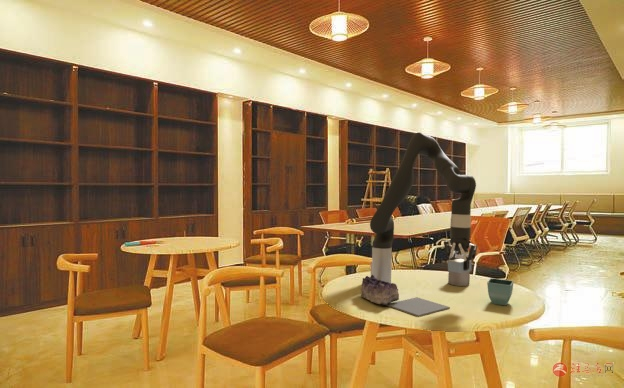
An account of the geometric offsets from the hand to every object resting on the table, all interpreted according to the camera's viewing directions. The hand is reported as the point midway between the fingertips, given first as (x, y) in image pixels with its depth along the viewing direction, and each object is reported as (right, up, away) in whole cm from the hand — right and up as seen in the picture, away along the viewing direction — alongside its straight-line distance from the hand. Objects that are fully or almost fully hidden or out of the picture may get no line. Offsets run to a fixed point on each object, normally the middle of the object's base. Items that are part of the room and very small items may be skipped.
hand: (459, 268), depth 158 cm
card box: (0, -1, 0) cm, 1 cm away
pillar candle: (+13, -14, +36) cm, 41 cm away
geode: (-32, -14, +6) cm, 35 cm away
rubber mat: (-17, -15, -2) cm, 22 cm away
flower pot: (+18, -15, +4) cm, 24 cm away
